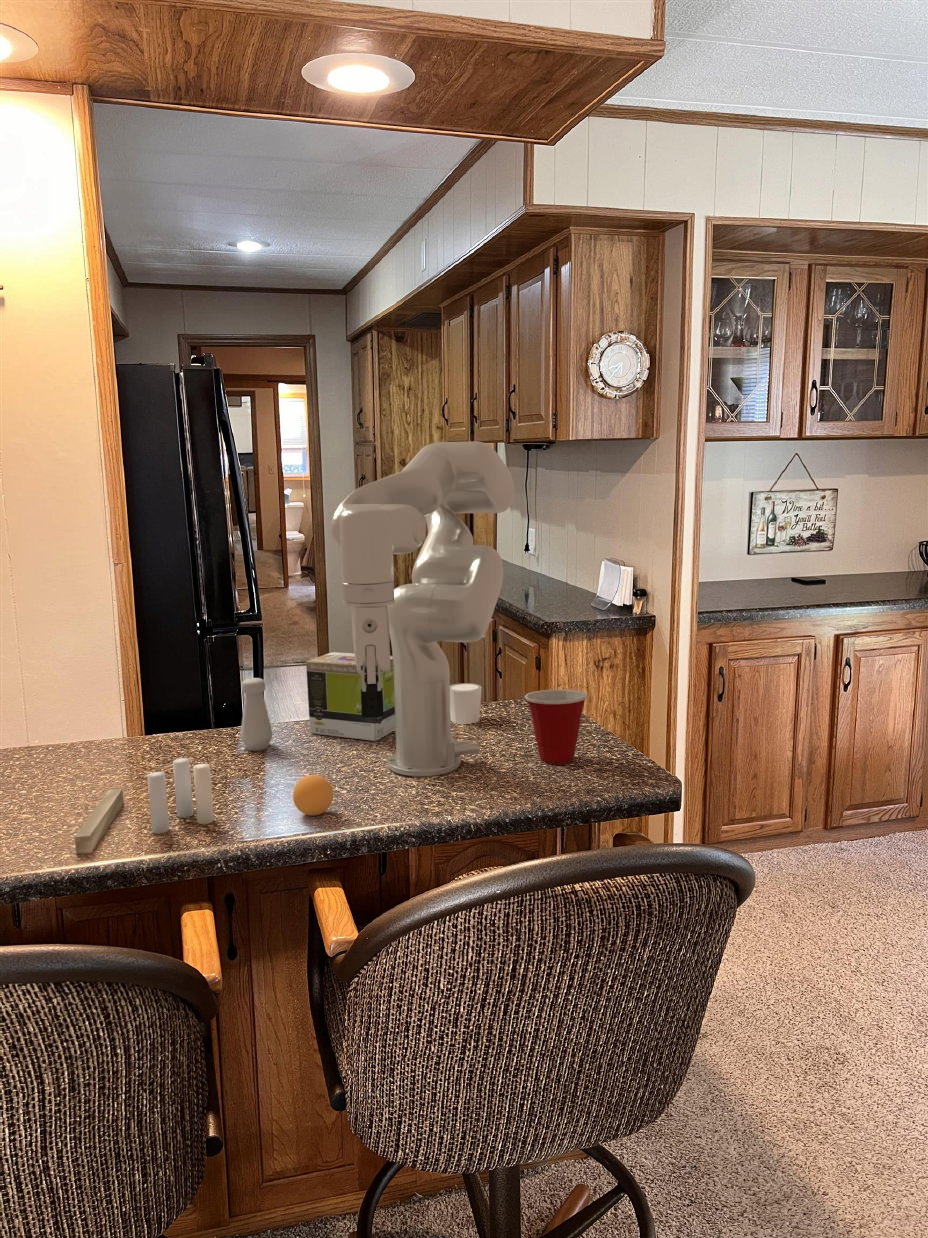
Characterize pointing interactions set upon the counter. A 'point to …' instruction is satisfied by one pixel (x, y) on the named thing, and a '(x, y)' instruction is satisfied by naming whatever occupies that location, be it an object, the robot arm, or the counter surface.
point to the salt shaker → (255, 716)
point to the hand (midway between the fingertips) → (372, 715)
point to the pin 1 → (158, 802)
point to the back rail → (99, 821)
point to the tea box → (345, 699)
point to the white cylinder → (465, 703)
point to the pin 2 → (183, 788)
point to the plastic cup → (556, 722)
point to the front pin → (203, 793)
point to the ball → (313, 795)
